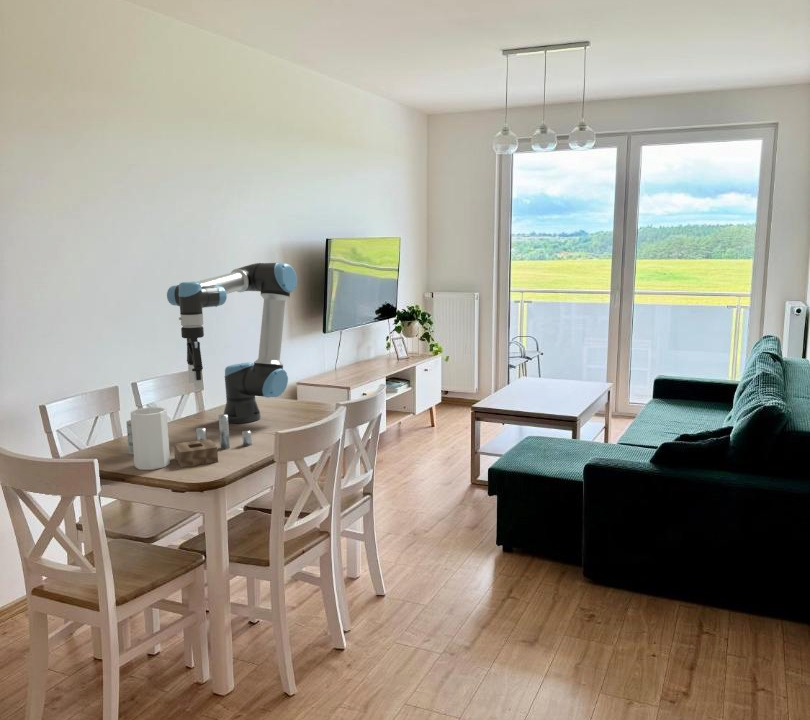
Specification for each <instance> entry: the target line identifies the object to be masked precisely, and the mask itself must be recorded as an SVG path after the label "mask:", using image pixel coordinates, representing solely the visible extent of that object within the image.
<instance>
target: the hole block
mask: <svg viewBox="0 0 810 720" xmlns="http://www.w3.org/2000/svg"><path fill="white" fill-rule="evenodd" d="M173 447H174V449H173V451H174V459H175V460H176V462H177V463H178V465H179V466H180V468H185V467H193V466H198V465H199V466H200V465H204V464H205V465H207V464H212V463H213V462H214V463H219V458H218V457H219V455H218V454H219V453H218V447H217V446H216V445H215V443H214V442H213V441H212V440H211V439H210V438H209V439H207V438H206V440H199V441H197V440H192V441H191V440H190V441H184V442H178V443H174V444H173ZM214 463H213V464H214Z"/></svg>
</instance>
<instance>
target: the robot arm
mask: <svg viewBox="0 0 810 720" xmlns="http://www.w3.org/2000/svg"><path fill="white" fill-rule="evenodd" d="M297 286H298V277H297V273H296V271H295V268H293V266H291V264H289V263H283V262H256V263H255V262H254V263H252V264H248V265H245V266H242V267H239V268H235V269H233V270H232V271H231V272H229V273H225V274H221V275H218V276H213V277H210V278H205V279H202V280H199V281H181V282H180V283H179V284H175V285H171V286H169V287H168V289H167V292H166V298H167V302H168V303H169V305H172V306H174V307H175V306H177V307H179V313H180V317H178V321H180V325H181V328H180V329H181V330H180V332H181V334H180V335H181V338H182V339H186V363H187V372H188V383H189V384H193V385H194V386H193V387H194V391H197V390H203V389H204V383H203V369H204V367H203V361H202V352H201V342H200V341H198V339H199V338H204V335H205V334H204V331H205V329H204V326H203V325H204V314H203V308H212V307H215V308H217V307H219V306H223V305H224V304H225V303H226V301H227V298H228V297H227V296H228V294H231V293H235V292H238V293H244V292H260V296H261V297H262V299H263V305H262V306H263V307H262V315H261V326H260V336H259V337H260V338H259V344H258V345H259V348H258V357H257V359H256V360H255V361H254V362H250V361H249V362H241V363H235V364H230V365H227V366H226V367H225V369H224V385H225V397H226V398H225V401H226V403H225V406H224V410H223V413H222V414H228V424H244V423H245V424H246V423H247V424H248V423H251V422H257V421H259V420H260V419H261V411H260V409H259V408H260V407H259V406H258V403H257V401H256V397H262V398H263V397H264V398H268V399H269V398H278V397H281V395H282V394H283V393H284V392H285V391H286V388H287V387H288V383H289V377H288V373H287V371H286V370H284V364H283V362H282V361H281V352H282V341H283V330H284V320H285V309H286V302H287V301H288V300H289V299H290V297H291V293H293V292H294V291H295V290H296V288H297Z"/></svg>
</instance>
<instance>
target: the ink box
mask: <svg viewBox="0 0 810 720" xmlns="http://www.w3.org/2000/svg"><path fill="white" fill-rule="evenodd" d="M126 431H127V432H126V434H127V446H128V454H130V455H134V451H133V439H132V426H131V419H130V420H127V421H126Z"/></svg>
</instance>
